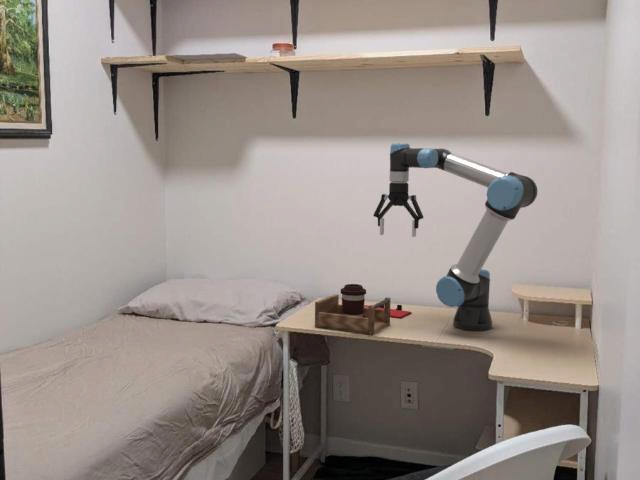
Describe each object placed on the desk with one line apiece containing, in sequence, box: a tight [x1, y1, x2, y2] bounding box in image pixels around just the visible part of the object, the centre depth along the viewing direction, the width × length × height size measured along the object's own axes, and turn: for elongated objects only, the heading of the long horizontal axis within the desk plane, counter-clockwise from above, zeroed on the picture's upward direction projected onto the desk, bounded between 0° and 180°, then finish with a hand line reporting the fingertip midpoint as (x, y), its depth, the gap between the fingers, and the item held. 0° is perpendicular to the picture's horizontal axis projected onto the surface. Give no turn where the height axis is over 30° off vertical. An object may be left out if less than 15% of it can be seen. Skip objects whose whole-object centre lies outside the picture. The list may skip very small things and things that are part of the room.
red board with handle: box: [364, 304, 413, 320], centre depth 299 cm, size 30×3×15 cm
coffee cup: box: [340, 283, 367, 317], centre depth 271 cm, size 10×10×15 cm
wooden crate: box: [314, 293, 392, 336], centre depth 271 cm, size 24×18×11 cm
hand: (397, 235), depth 278 cm, fingers open, 13 cm apart
